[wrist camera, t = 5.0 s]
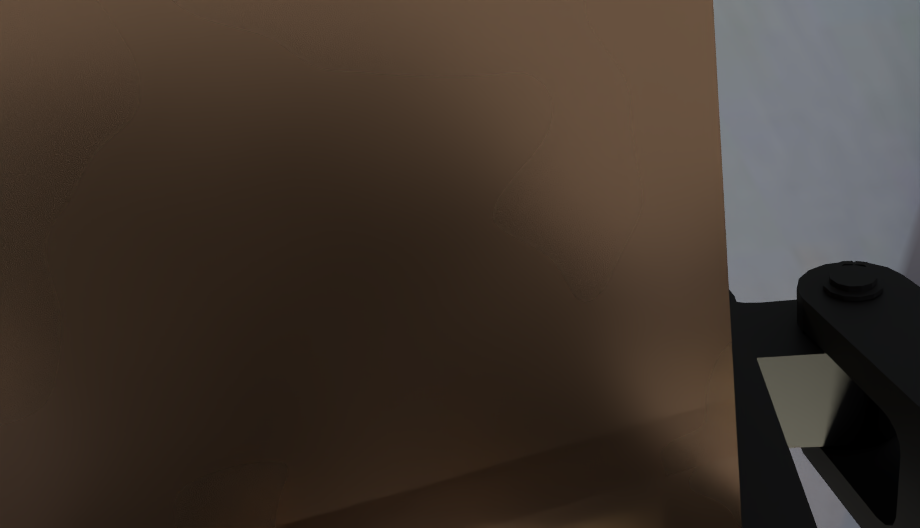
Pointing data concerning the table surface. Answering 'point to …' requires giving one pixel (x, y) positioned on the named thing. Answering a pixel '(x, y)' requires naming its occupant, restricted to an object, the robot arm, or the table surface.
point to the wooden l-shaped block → (363, 265)
